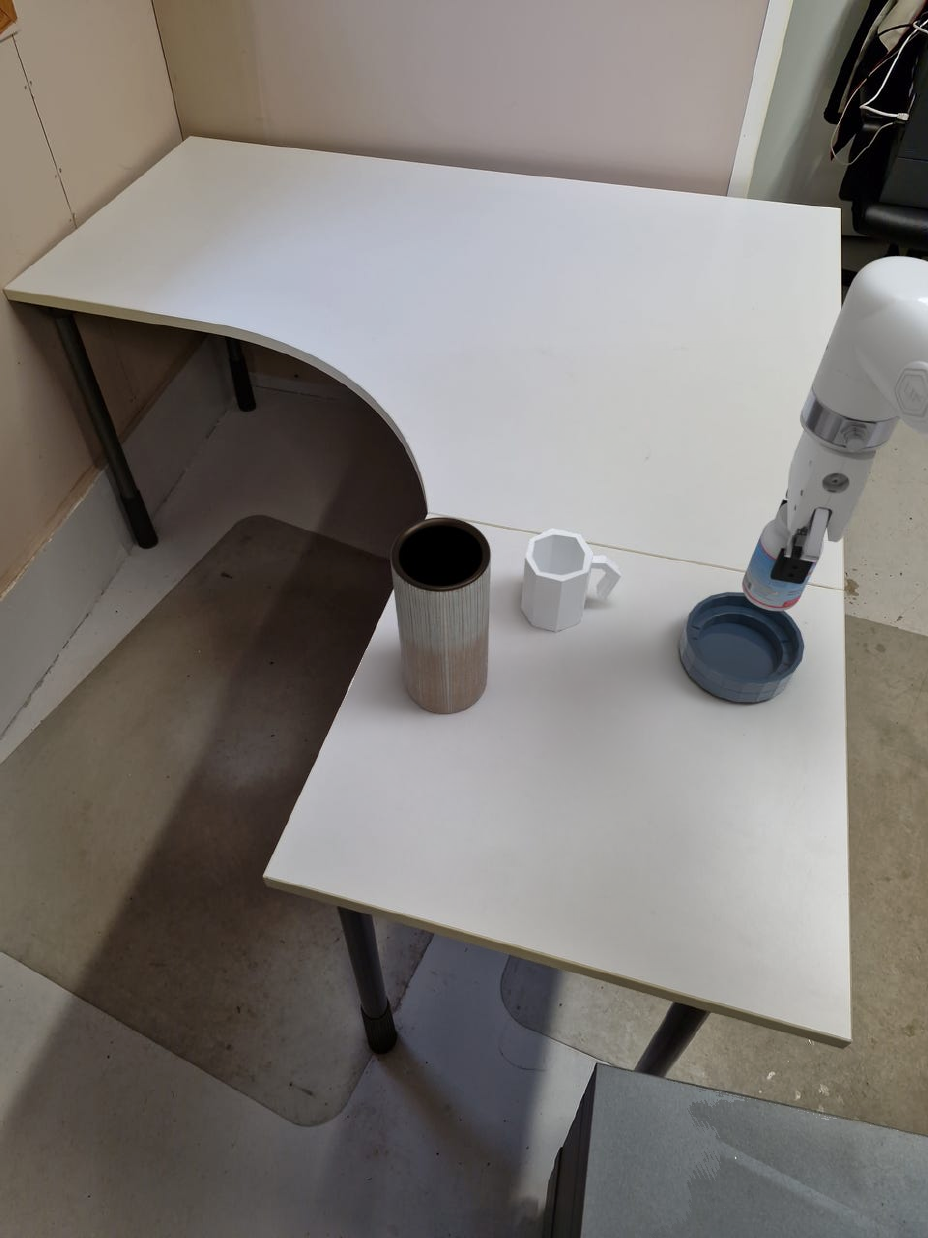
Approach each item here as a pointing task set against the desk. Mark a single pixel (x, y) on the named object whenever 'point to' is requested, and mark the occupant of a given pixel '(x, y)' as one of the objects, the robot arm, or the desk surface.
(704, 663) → the dish
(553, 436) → the desk surface
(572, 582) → the mug
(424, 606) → the planter
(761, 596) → the pill bottle
